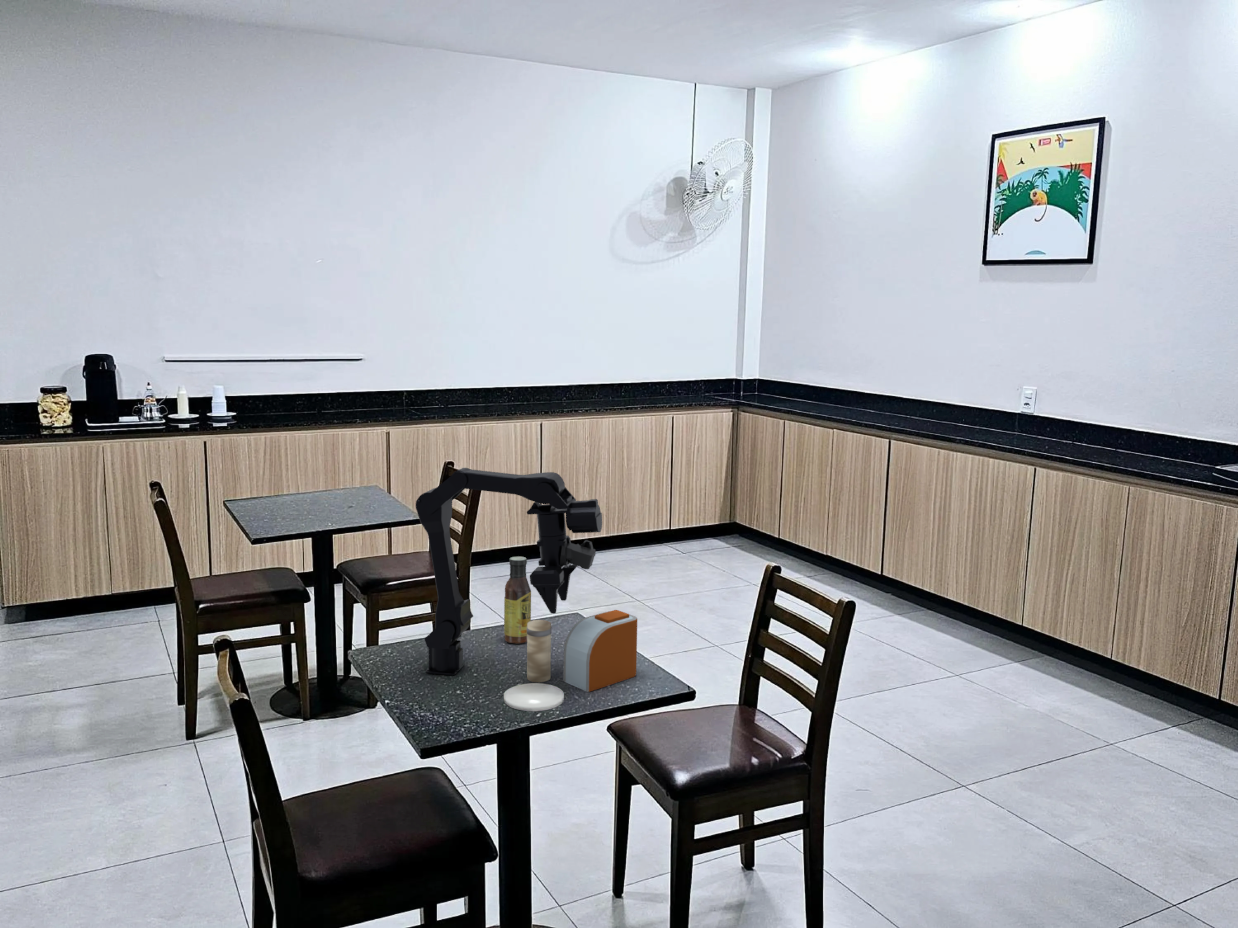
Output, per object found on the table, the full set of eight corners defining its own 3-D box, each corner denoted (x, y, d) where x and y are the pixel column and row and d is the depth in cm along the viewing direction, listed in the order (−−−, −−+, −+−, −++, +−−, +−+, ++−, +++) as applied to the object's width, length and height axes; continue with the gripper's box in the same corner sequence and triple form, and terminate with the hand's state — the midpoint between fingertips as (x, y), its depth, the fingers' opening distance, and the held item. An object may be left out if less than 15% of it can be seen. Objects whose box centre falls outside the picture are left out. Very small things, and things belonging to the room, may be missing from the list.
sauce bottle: (526, 645, 233) (526, 562, 230) (500, 643, 234) (500, 561, 231) (534, 636, 239) (534, 556, 236) (509, 634, 240) (509, 554, 237)
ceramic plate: (496, 708, 197) (496, 703, 197) (513, 685, 208) (513, 680, 208) (555, 713, 195) (555, 708, 195) (569, 690, 206) (569, 685, 206)
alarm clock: (613, 664, 222) (614, 605, 220) (640, 675, 216) (641, 614, 214) (562, 680, 212) (562, 619, 210) (588, 692, 206) (589, 629, 204)
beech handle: (523, 681, 211) (523, 626, 209) (530, 672, 216) (530, 618, 214) (547, 683, 210) (548, 628, 208) (553, 674, 215) (554, 620, 213)
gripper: (580, 542, 197) (586, 619, 199) (599, 523, 215) (604, 593, 217) (526, 544, 199) (532, 620, 201) (549, 524, 217) (555, 594, 220)
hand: (558, 606), depth 210 cm, fingers open, 9 cm apart
